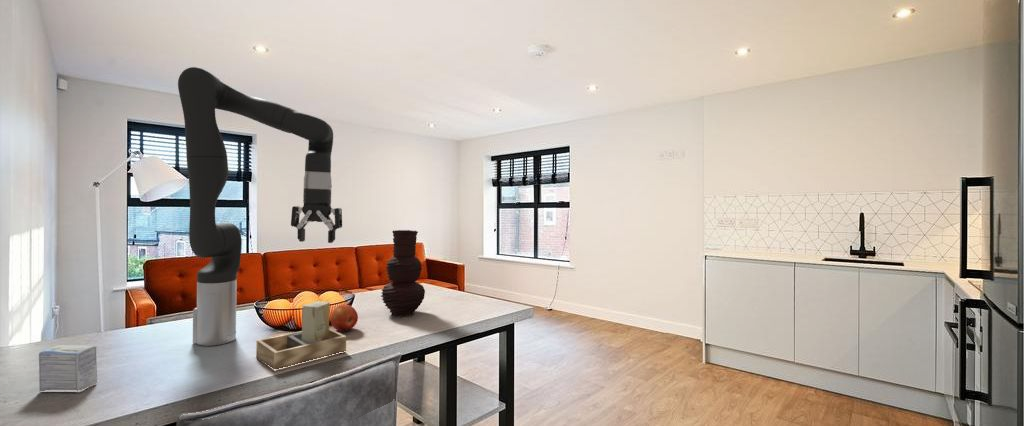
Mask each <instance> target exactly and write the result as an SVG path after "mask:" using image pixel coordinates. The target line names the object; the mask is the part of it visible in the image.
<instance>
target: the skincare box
mask: <svg viewBox="0 0 1024 426" xmlns="http://www.w3.org/2000/svg"><path fill="white" fill-rule="evenodd" d="M330 305H331V303H330V302H327V301H316V300H315V301H314V302H310V303H308V304H306V305H303V306H302V316H301V317H302V319H301V321H302V322H301V331H302V341H303V342H304V343H306V344H310V343H314V342H318V341H323V340H327V339H329V328H330V310H331V309H330V307H331V306H330Z"/></svg>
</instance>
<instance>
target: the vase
mask: <svg viewBox="0 0 1024 426" xmlns="http://www.w3.org/2000/svg"><path fill="white" fill-rule="evenodd" d="M418 233H419V231H417V230H412V229H411V230H410V229H405V230H404V229H403V230H401V229H399V230H398V229H397V230H394V229H393V230H392V236H393V238H392V240H393V241H392V242H393V244H392V245H393V251H392V253H393V256H392V257H391V258H390V259H389V260H387V261H386V266H385V268H386V275H387V278H388V280H389V281H391V282H388V283H387V284H386V285H384V286H383V288H382V289H381V295H380V297H382V298H381V301H382V303H383V304H385V305H384V306H385V307H386V308H387V310H389V313H391V316H395V317H402V318H403V317H404V318H405V317H409V316H413V315H414V314H415V311H417V309H418V308H419V307H420V306H421V304H422V303H423V301H424V300H425V297H426V296H425V294H426V290H425V287H424V285H422V284H421V283H419V282H417V280H418V279H419V278H420V277H421V273H422V270H423V269H422V267H423V264H422V262H421V261H420V259H419V258H418V257H416V253H417V252H416V248H417V247H416V245H417V240H418V239H417V235H418Z"/></svg>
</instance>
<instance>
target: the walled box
mask: <svg viewBox="0 0 1024 426" xmlns="http://www.w3.org/2000/svg"><path fill="white" fill-rule="evenodd" d="M255 348H256V352H255V353H256V354H255V356H256V359H257V358H258V360H259V359H260V360H261V361H260V360H259V361H260V362H262V361H263V362H264V363H266V364H267V365H269V366H270V367H272V368H273V369H279V368H283V367H288V366H291V365H295V364H298V363H302V362H306V361H309V360H313V359H317V358H321V357H324V356H329V355H332V354H336V353H339V352H344V351H346V352H347V336H346V335H345V334H342V333H341V332H340V331H336V330H335V329H332V328H330V327H329V339H327V340H323V341H318V342H314V343H310V344H306V343H304V342H303V341H302V330H300V331H295V332H291V333H285V334H281V335H277V336H272V337H267V338H261V339H256V347H255ZM263 362H262V363H263ZM264 363H263V364H264ZM266 364H265V365H266ZM267 365H266V366H267ZM270 367H269V368H270Z"/></svg>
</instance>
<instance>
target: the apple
mask: <svg viewBox="0 0 1024 426" xmlns="http://www.w3.org/2000/svg"><path fill="white" fill-rule="evenodd" d="M358 315H359V314H358V312H357V311H356V309H355V308H354V307H353V306H351V305H349V304H340V305H338V306H336V307H334V308H333V310H332V312H331V313H330V316H329V321H330V324H331V326H332V327H333V329H334V330H335V331H336V330H337V332H348V331H350V330H352V329H353V328H354V327H355V326H356V325H357V323H358V321H359V316H358Z"/></svg>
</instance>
